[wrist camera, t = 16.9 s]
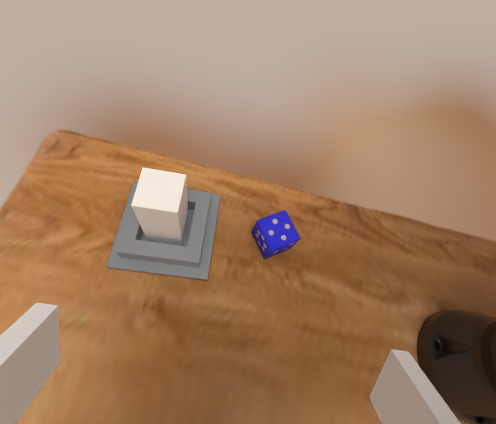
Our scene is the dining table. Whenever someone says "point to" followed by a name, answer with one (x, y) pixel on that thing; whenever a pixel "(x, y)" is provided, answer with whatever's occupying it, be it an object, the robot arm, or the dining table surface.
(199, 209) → the socket
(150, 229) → the plug
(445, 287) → the dining table surface
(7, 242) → the dining table surface
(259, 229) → the die
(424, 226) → the dining table surface
